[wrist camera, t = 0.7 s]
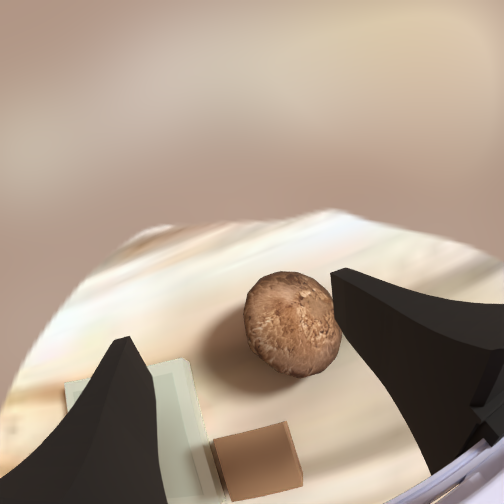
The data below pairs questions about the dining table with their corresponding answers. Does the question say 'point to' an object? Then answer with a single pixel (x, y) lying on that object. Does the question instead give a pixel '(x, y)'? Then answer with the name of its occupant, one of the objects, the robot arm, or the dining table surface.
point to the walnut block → (259, 462)
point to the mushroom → (292, 324)
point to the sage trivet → (177, 435)
